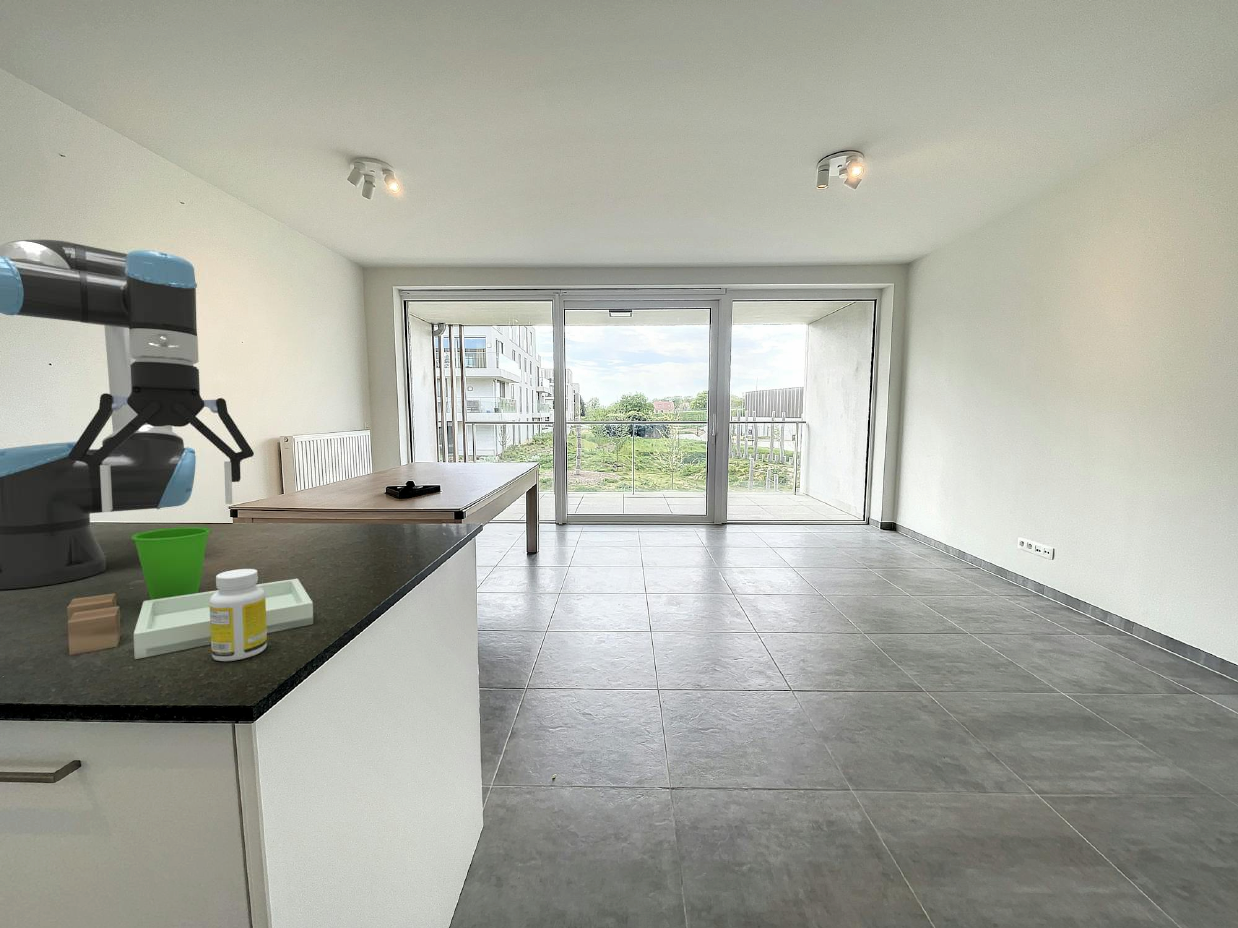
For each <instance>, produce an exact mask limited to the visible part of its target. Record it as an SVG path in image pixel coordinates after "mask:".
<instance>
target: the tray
mask: <svg viewBox="0 0 1238 928" xmlns="http://www.w3.org/2000/svg"><path fill="white" fill-rule="evenodd" d="M256 586H258V587H260V588H262V589H263V590H264V592H265V602H266V624H267V634H270V633H275V632H281V631H284V630H285V631H286V630H290V629H295V628H300V627H306V626H310V625H314V602H313V600H312V598H310V596H309V595H308V594H309V593H308V592H306V589H305V588H304V586H303V585H302V583H301V582H300V580H299V579H298V578H293V579H287V580H286V579H284V580H278V581H271V582H265V583H258V584H257V583H256ZM217 592H219V589H217V590H210V591H205V592H204V591H203V592H198V593H196V594H189V595H182V596H175V597H168V598H161V599H155V600H150V599H149V600H143V602H142V605H141V609H140V611H139V612H140V613H139V615H138V619H137V622H136V625H135V628H134V631H133V651H134V660H137V659H143V658H149V657H155V656H158V655H163V654H169V653H173V652H179V651H183V650H189V649H194V648H199V647H203V646H205V647H206V646H209V645H210V646H211V629H210V606H209V605H210V598H211V597H212V596H213V595H214V594H215V593H217Z"/></svg>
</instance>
